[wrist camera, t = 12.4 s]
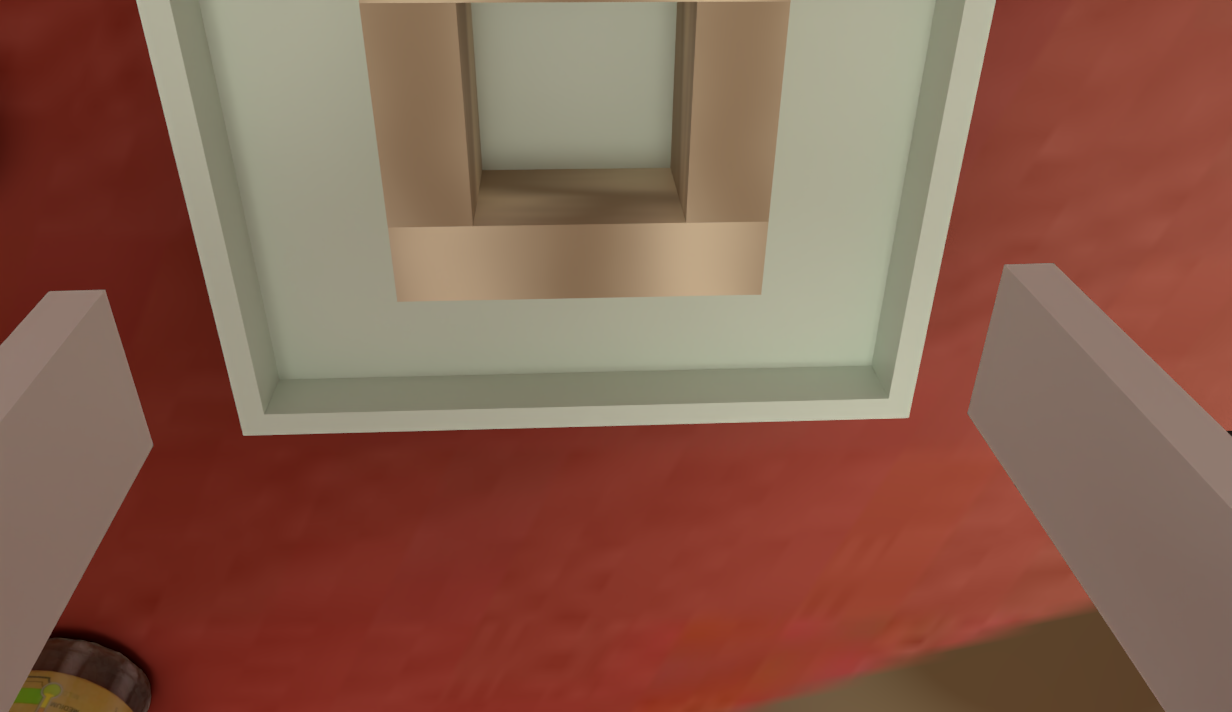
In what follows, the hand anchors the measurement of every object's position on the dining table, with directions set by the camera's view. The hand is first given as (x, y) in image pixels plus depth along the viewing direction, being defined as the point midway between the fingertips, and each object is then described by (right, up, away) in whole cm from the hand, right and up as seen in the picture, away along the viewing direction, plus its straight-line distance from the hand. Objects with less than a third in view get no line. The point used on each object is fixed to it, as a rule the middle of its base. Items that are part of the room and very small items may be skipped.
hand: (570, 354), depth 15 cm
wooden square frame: (0, +8, +13) cm, 15 cm away
